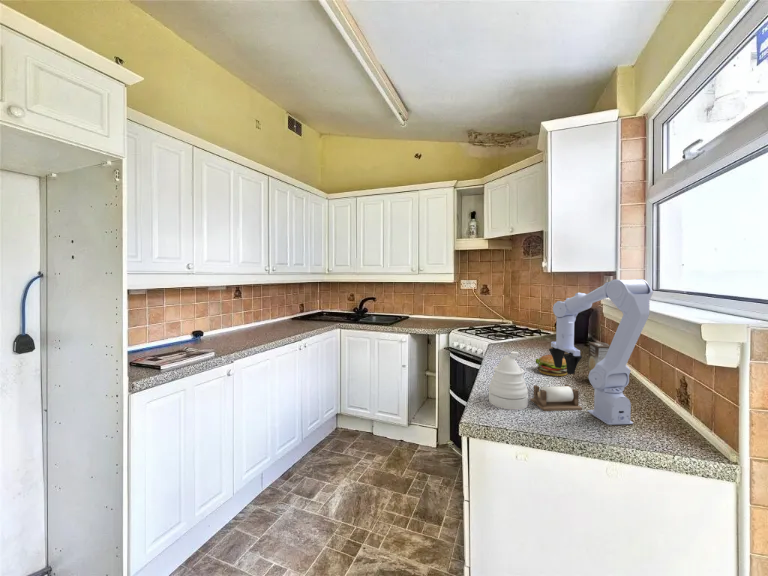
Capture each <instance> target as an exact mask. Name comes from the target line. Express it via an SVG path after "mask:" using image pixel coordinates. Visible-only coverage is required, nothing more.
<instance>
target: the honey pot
mask: <svg viewBox="0 0 768 576" xmlns="http://www.w3.org/2000/svg"><path fill="white" fill-rule="evenodd" d="M519 354H520V353H519V352H518V351H510V354H509V355H505V356H504V357H502V358H501V360H500V361H499V363H498V364H497V365H496V366H495V367H493V369H494V374H493V375H492V376H491V377H492V379H491V380H490V384H489V385H488V387H489V388H488V402H489V403H490V404H492V405H493V406H494V405H495V406H494V407H497V408H500V407H501V408H500V409H503V408H504V409H505V410H509V409H510V410H511V411H514V410H515V411H517V410H524V409H526V408H527V407H528V405H529V389H528V387H527V384H526V379H525V378H524V374H525V369H523V368H522V367H520V366H519V364H518V362H517V361H516V358H518V356H519ZM510 410H509V411H510Z"/></svg>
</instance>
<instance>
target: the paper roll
mask: <svg viewBox="0 0 768 576" xmlns="http://www.w3.org/2000/svg"><path fill="white" fill-rule="evenodd" d="M541 390H545V391H546V402H570V401H572V400H573V398H574V395H573V391H572V390H573V388H571V386H570V387H569V386H563V385H562V386H541V387H539V392H538V393H537V395H538V397H539V398H540V391H541Z"/></svg>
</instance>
